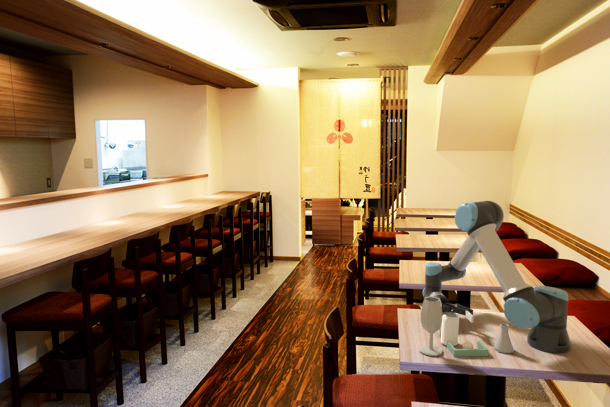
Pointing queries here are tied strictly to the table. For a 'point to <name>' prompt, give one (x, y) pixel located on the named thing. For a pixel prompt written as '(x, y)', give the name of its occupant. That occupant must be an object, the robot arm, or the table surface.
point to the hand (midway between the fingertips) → (456, 319)
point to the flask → (504, 340)
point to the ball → (467, 345)
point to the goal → (468, 350)
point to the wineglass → (431, 323)
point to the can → (450, 328)
